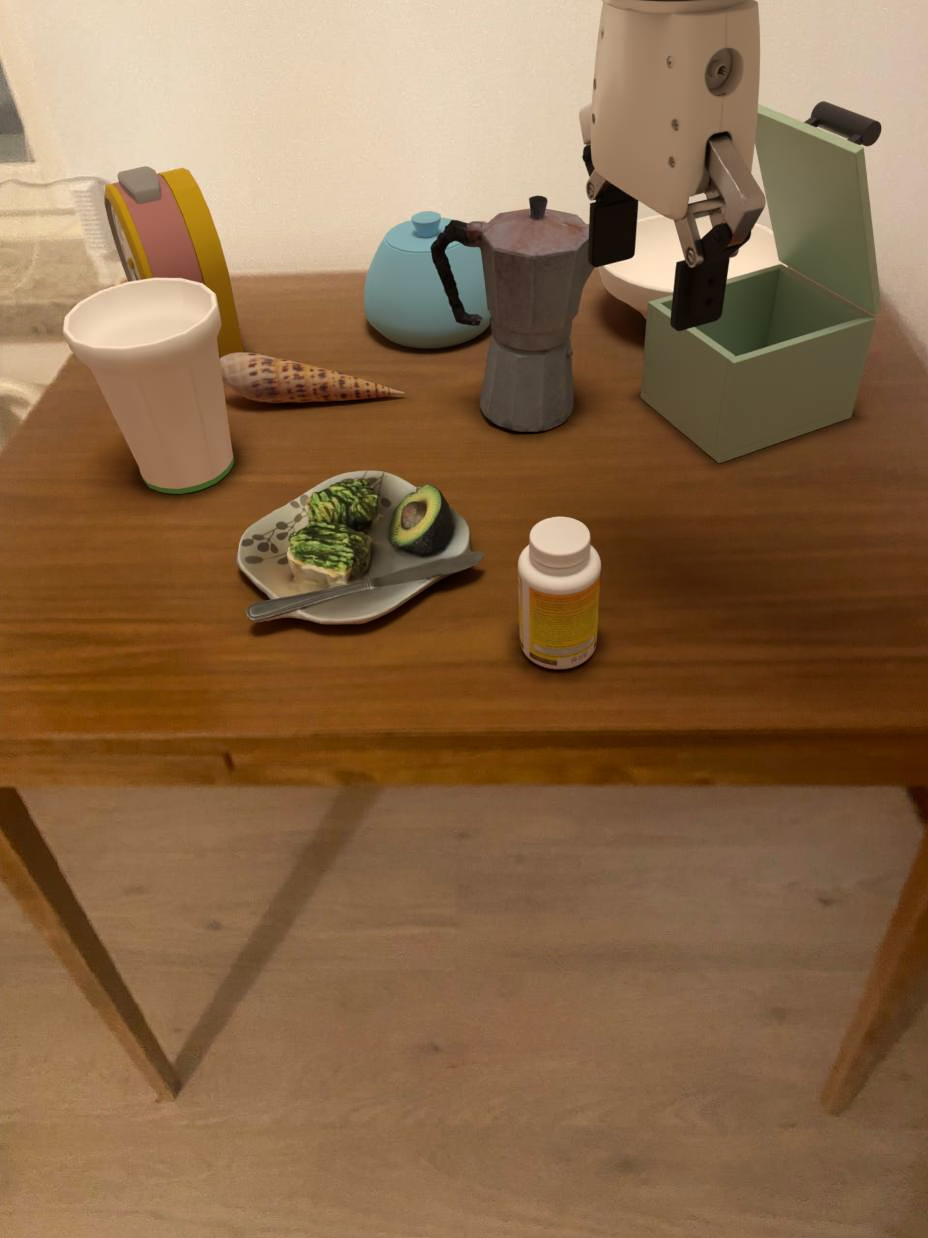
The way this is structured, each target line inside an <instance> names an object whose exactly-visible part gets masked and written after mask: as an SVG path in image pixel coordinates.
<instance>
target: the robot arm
mask: <svg viewBox="0 0 928 1238" xmlns="http://www.w3.org/2000/svg"><path fill="white" fill-rule="evenodd" d="M601 2H602V6H601V11H600V19H599V27H598V32H597V40H596V50H595V57H594V58H595V59H594V72H593V81H592V82H593V83H592V94H591V102H590V103H588V104H587V105H585V106H583V107H581V108H580V110H579V112H578V121H579V125H580V132H581V136H582V143H583V145H584V146H583V149H582V155H581V158H582V161H583V162H584V166H585V168H586V171H587V174H588V176H589V178H588V180H587V181H586V184H585V192H586V197H587V198H588V200H589V201H591V202H590V203H589V218H588V224H589V243H588V262H589V264H591V265H592V266H593V267H595V268H598V267H600V266H604V265H608V264H612V263H616V262H620V261H624V260H628V259H631V258H632V257H633V256H634V255H635V245H636V230H637V220H638V217H639V216H638V215H639V213H638V212H639V202H640V203H641V204H643V205H645V207H648V208H649V209H651V210H653V211H654V212H656V213H657V214H658V215H663V216H664V217H666V218H669V219H671V220H674V223H675V226H676V230H677V233H678V237H679V241H680V244H681V248H682V251H683V255H684V258H685V260H683V261H679V262H676V269H675V279H674V289H673V299H672V309H671V319H670V325H671V327H673V328H674V329H675V330H677V331H682V330H686V329H689V328H693V327H697V326H700V325H704V324H707V323H711V322H715V321H717V320H718V319H720V317H721V315H722V311H723V304H724V296H725V289H726V282H727V275H728V268H729V261H730V258H732V257H735V256H736V255H737V254H738V252H739V248H740V247H742V246H743V245H744V244H745V243H746V242H747V241H748V240H749V239H750V237H751V230H752V229H753V227H754V225H755V224H756V223H757V222H758V220H759V218H760V217H761V215H762V213H763V211H764V210H765V207H766V204H767V200H766V195H765V192H763V190H762V188H761V187H760V185H759V183H758V182H757V181H756V178H755V177H754V175H753V173H752V172H753V163H754V155H755V154H754V153H755V135H756V124H757V112H758V104H759V97H760V81H761V80H760V79H761V78H760V76H761V27H760V26H761V25H760V23H761V22H760V12H759V2H758V1H757V0H601ZM701 194H702V195H703V194H704V195H705V197H706V199H702V200H699V201H694V202H690V198H691V197H695V196H697V195H701ZM593 201H594V202H593ZM709 215H710V216H709ZM705 216H709V217H710V221H711V224H712V229H711V230H710V231H709V232H708V233H707V234H706V235H705V236H703V237H702V238H700V235H699V231H698V227H697V224H696V220H695V219H697V218H701V217H705Z"/></svg>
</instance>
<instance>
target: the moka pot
mask: <svg viewBox="0 0 928 1238" xmlns="http://www.w3.org/2000/svg"><path fill="white" fill-rule="evenodd" d="M548 201H549V200H548V198H547V197H546V196H543V195H533V196H530V197H528V202H529V208H525V209H517V210H510V211H504V212H499V213H497V214H496V215H495V216H494V217H493V218H491V219H490V220H489V221H487V222H486V221H485V220H484V221H482V220H481V221H480V220H473V221H470V222H465V221H462V220H458V219H453V220H451V221H450V223H449V224H448V225H446V226H445V230H444V231H443V233H442V232H441V233H440V234H439V235H438V236H437V239H436V240H435V241H434V242H433V243H432V245H431V248H430V249H431V255H432V260H433V263H434V264H435V267H436V269H437V272H438V275H439V277H440V279H441V282H442V284H443V287H444V291H445V293H446V295H447V297H448V301H449V305H450V306H451V308H452V312H453V314H454V318H455V320H456V322H457V323H460V324H464V325H472V326H475V325H476V326H479V325H480V322H481V320H482V319H483V318H482V317H481V316H480V315H478V314H468V313H467V312H465V309H464V306H463V304H462V302H461V300H460V299H459V297H458V296H459V293H458V289H457V286H456V285H457V284H456V282H455V280H454V275H453V273H452V271H451V266H450V264H449V259H448V257H447V255H446V254H445V249H446V248H447V246H448V245H449V244H450V243H452V242H454V241H457V242H460V243H461V244H463V245H464V246H468V247H479V248H480V249H481V256H482V263H483V272H484V281H485V291H486V300H487V308H488V310H489V313H490V315H491V317H490V319H489V324H490V325H489V326H490V329H491V330H490V331H491V335H490V337H489V344H488V349H487V355H486V363H485V368H484V374H483V380H482V386H481V392H480V398H479V399H480V400H479V408H480V411H482V414H483V415H484V417H485V418H487V419H488V420H489V421H490V422H491V423H492V424H495V425H496V426H498V427H501V428H504V429H507V430H510V431H513V432H522V433H523V432H524V433H526V432H528V433H529V432H530V433H531V432H533V433H537V432H545V431H549V430H551V429H554V428H557V427H558V426H561V425H563V424H564V423H565V422H566V421H567V420H568V419H569V418H570V416H571V414H572V412H573V409H574V406H575V401H574V400H575V399H574V398H575V397H574V396H575V395H574V374H573V359H572V358H573V355H574V352H573V348H572V340H571V334H572V328H573V321H574V319H575V318H576V317H577V315H578V314H579V309H580V304H581V300H582V297H583V291H584V287H585V286H586V283H587V281H588V280H589V278H590V276H591V275H592V273H593V271H594V270H595V268H596V267H593V266H592V265H591V264H589V262H588V243H589V223H586V222H585V221H584V220H583V219H582V218H581V217H580V216H579V215H578V214H576V213H571V212H566V211H562V210H561V211H560V210H556V209H549V208H547V206H548V203H549V202H548Z"/></svg>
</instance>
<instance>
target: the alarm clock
mask: <svg viewBox="0 0 928 1238" xmlns="http://www.w3.org/2000/svg"><path fill="white" fill-rule="evenodd" d="M156 171H157V170H155V169H154V168H152V167H150V166H147V165H146V166H145V165H144V166H140V167H136V168H131V169H126V170H122V171H118V173H117V182H113V183H108V184H105V187H104V195H103V197H104V201H103V203H104V208H105V212H106V218H107V220H108V224H109V228H110V231H111V236H112V238H113V242H114V245H115V248H116V251H117V255H118V257H119V260H120V263H121V266H122V269H123V271H124V275H125V277H126V280H127V282H131V281H138V280H144V279H150V278H182V279H186V280H191V281H195V282H199V283H202V284H204V285H205V286H206V287H208V288H209V289H210V290H211V291H213V292H214V293H215V294H216V297H217V302H218V307H219V312H220V318H221V324H222V325H221V328H220V330H219V333H218V336H217V343H218V350H219V358H221V357H223V356H226V355H228V354H231V353H239V352H245V349H244V344H243V339H242V333H241V328H240V325H239V318H238V313H237V308H236V303H235V299H234V293H233V287H232V283H231V277H230V272H229V268H228V265H227V260H226V257H225V253H224V250H223V247H222V244H221V239H220V235H219V234H218V231H217V229H216V225H215V223H214V219H213V217H212V213H211V211H210V208H209V206H208V203H207V201H206V199H205V197H204V194H203V192H202V190H201V188H200V186H199V184H198V182H197V181H196V179H195V177H194V176H193V174H192V173H191V171H190V169H187V168H184V167H179V168H176V169H171V170H166V171H162V172H158V173H157V172H156Z"/></svg>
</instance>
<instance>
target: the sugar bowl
mask: <svg viewBox="0 0 928 1238" xmlns="http://www.w3.org/2000/svg"><path fill="white" fill-rule="evenodd" d="M451 220H454V219H453V218H448V217H442V215H441V213H439V212H436V211H431V210H424V211H419V212H416V213H414V214H413V215H412V216H411V217H410V219H409V220H407V221H403V222H400V223H398V224H396V225H394V226H393V227H391V228H390V229H389V230H388V231H387V232H386V233H385V235H384V237H382V240H381V241H380V243H379V245H378V247H377V249H376V251H375V253H374V256H373V258H372V260H371V261H370V262H371V263H370V264H369V268H368V270H367V274H366V278H365V282H364V289H363V312H364V316H365V317H366V319H367V321H368V322H369V324H370V325H371V326H372V327H373V328H374V329H375V330H376V331H377V332H378V333H379V334H380V335H381V336H383V337H384V338H386V339H387V340H389V342H393V343H394V344H396V345H399V346H403V347H407V348H413V349H427V350H428V349H429V350H430V349H431V350H433V349H443V348H450V347H454V346H457V345H461V344H465V343H466V342H469V341H471V340H473V339H475V338H476V337H477V338H478V336H480V335H481V334H482V333H483V332H485V331H486V329H488V327H489V326H490V324H489V319H490V317H491V315H490V313H489V310H488V308H487V300H486V291H485V281H484V272H483V263H482V256H481V249H480V248H479V247H468V246H464V245H463V244H461V243H460V242H457V241H454V242H452V243H450V244H449V245H448V246H447V248H446V249H445V254H446V255H447V257H448V259H449V264H450V266H451V271H452V273H453V275H454V280H455V282H456V284H457V285H456V286H457V289H458V293H459V296H458V297H459V299H460V300H461V302H462V304H463V306H464V309H465V312H467V313H468V314H478V315H480V316H481V317H482V318H483V319H482V320H481V322H480V325H479V326H476V325H475V326H472V325H464V324H460V323H457V322H456V320H455V318H454V314H453V312H452V308H451V306H450V305H449V301H448V297H447V295H446V293H445V291H444V287H443V284H442V282H441V279H440V277H439V275H438V272H437V269H436V267H435V264H434V263H433V260H432V255H431V249H430V248H431V245H432V243H433V242H434V241H435V240H436V239H437V236H438V235H439V234H440V233H441V232H442V233H443V231H444V230H445V226H446V225H448V224H449V223H450V221H451Z"/></svg>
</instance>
